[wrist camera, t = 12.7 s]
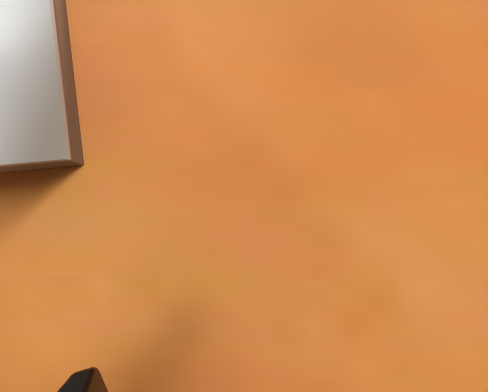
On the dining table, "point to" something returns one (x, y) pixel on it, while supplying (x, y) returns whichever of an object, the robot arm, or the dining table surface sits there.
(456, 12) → the dining table surface
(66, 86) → the stand
